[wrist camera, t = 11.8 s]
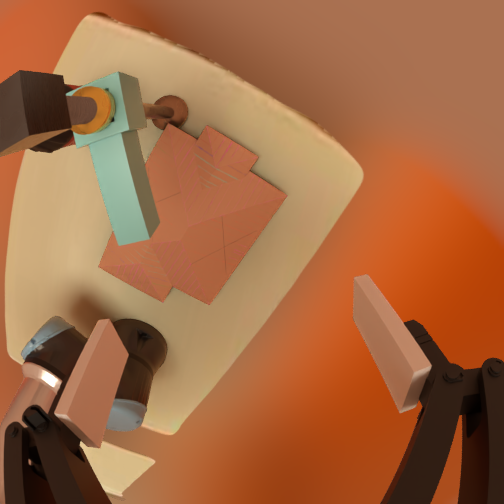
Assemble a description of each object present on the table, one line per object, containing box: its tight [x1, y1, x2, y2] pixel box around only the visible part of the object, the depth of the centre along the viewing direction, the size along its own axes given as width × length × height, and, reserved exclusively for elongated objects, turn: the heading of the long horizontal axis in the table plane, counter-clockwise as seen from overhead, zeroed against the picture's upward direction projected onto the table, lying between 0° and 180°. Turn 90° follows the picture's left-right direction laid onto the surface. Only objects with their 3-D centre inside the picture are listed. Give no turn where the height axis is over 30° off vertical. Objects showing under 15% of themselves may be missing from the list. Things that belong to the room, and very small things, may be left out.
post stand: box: [0, 70, 188, 157], centre depth 26 cm, size 6×6×40 cm
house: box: [99, 123, 287, 305], centre depth 50 cm, size 23×33×8 cm
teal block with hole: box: [66, 72, 160, 246], centre depth 22 cm, size 14×5×5 cm, turn 10°
